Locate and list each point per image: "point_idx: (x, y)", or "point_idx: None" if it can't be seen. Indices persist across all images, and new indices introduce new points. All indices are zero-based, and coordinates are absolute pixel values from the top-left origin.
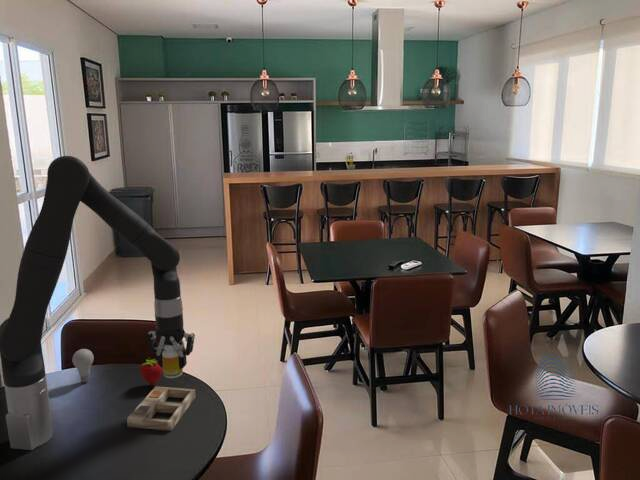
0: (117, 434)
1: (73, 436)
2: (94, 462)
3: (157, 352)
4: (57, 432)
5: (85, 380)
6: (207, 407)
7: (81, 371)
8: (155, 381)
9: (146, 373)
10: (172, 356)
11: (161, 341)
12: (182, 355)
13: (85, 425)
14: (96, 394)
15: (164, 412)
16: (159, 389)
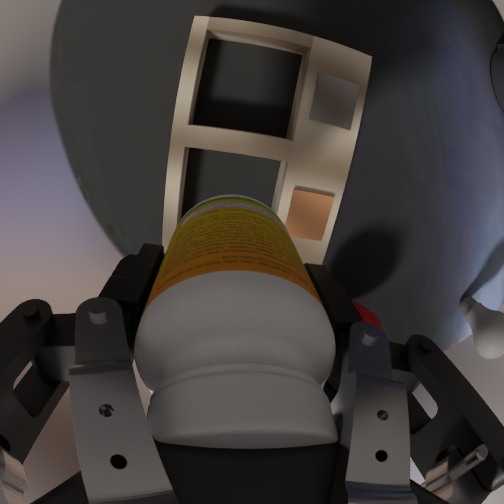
0: (372, 31)
1: (462, 62)
2: None
3: (381, 344)
4: (489, 93)
5: (467, 298)
6: (108, 174)
7: (485, 308)
8: None
9: (363, 312)
10: (190, 288)
11: (391, 478)
12: (89, 309)
13: (456, 103)
14: (452, 251)
15: (253, 132)
16: (302, 250)
